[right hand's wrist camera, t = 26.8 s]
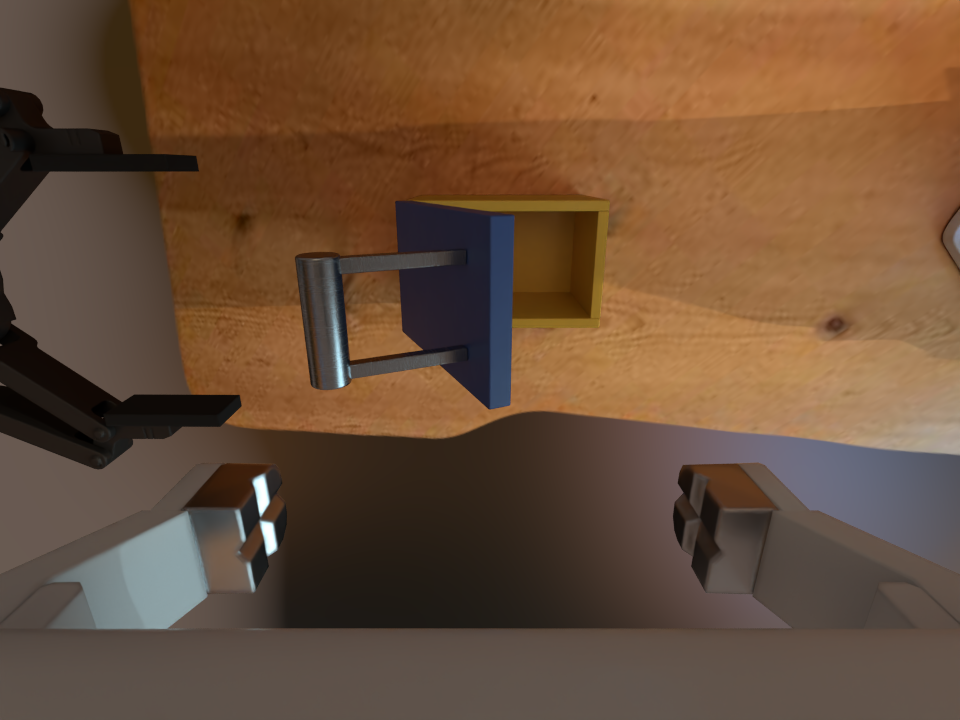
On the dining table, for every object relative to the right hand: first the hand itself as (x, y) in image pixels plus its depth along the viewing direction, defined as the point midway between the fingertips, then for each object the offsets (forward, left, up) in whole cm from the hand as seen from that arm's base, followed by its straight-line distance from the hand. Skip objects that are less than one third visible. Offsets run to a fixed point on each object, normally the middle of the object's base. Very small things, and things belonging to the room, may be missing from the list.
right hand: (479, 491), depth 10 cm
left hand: (+8, +12, -18) cm, 23 cm away
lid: (+1, +1, -20) cm, 20 cm away
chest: (-1, -2, -37) cm, 37 cm away
